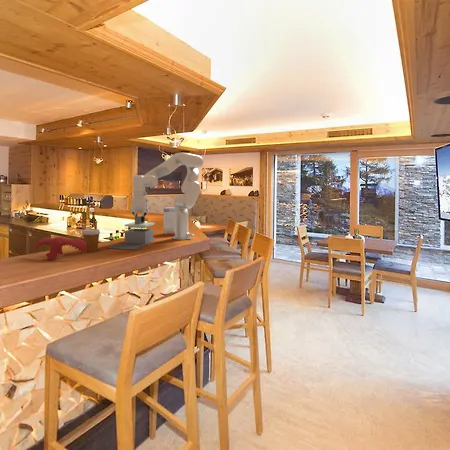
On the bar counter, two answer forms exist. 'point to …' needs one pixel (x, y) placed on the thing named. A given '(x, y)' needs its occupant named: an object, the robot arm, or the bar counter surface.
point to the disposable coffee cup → (91, 239)
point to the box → (139, 236)
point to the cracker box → (169, 220)
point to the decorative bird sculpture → (60, 245)
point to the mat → (127, 246)
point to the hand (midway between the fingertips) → (139, 222)
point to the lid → (139, 223)
